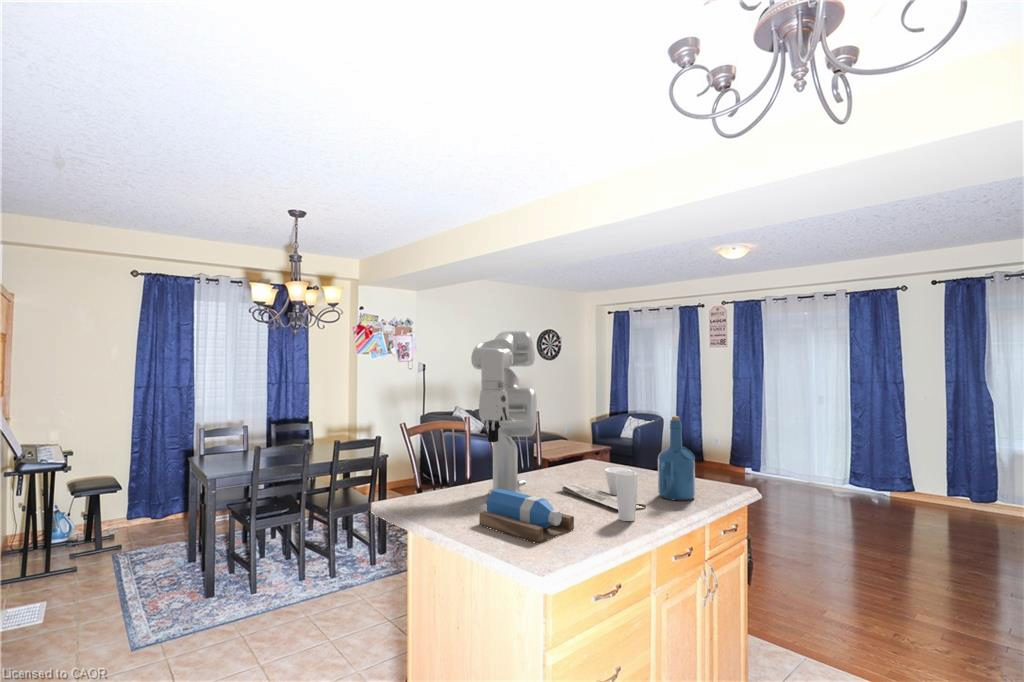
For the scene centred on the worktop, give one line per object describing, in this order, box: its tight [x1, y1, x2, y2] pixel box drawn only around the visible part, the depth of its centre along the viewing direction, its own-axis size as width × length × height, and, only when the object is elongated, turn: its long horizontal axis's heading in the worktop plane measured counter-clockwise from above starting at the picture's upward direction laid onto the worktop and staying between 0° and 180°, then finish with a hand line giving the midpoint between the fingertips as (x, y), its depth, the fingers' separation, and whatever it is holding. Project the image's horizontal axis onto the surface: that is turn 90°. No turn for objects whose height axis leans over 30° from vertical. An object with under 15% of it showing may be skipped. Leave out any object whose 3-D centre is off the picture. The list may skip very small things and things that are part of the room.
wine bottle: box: [657, 415, 696, 501], centre depth 196 cm, size 14×13×30 cm
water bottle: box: [486, 489, 563, 529], centre depth 162 cm, size 9×9×25 cm
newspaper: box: [558, 482, 647, 510], centre depth 193 cm, size 35×12×4 cm, turn 33°
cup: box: [604, 466, 632, 496], centre depth 200 cm, size 10×10×9 cm
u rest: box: [478, 510, 575, 544], centre depth 161 cm, size 17×24×4 cm
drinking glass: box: [616, 470, 638, 522], centre depth 168 cm, size 7×7×15 cm
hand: (493, 441), depth 172 cm, fingers closed
